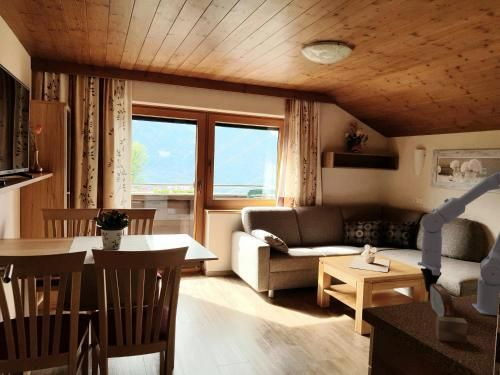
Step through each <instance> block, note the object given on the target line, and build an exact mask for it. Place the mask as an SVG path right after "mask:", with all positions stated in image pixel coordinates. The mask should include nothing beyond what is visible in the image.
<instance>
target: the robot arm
mask: <svg viewBox="0 0 500 375" xmlns="http://www.w3.org/2000/svg"><path fill="white" fill-rule="evenodd" d="M494 190H500V170H499V171H497V172H494V173H493V174H491V175H489V176H487V177H485V178H484V179H482V180H481V181H480V182H478V183H477V184H475V185H474V186H473V187H472V188H470V189H469V190H467V191H466V192H465V193H463V194H462V195H461V196H460V197H450V198H445V199H444V200H443V201H444V203H441V204H440V205H439V206H438V207H436V208H433V209H431V210H430V211H431V212H432V213H428V214H426V216H424V218H423V219H422V227H423V231H422V233H423V235H422V244H421V261H418V262H417V265H418V266H421V268H420V271H421V274H422V276H423V280H424V287H425V290H426V293H428V292H429V293H430V286H431V284H438V281H439V279H440V277H441V276H442V272H441V269H442V267H443V266H442V250H443V249H442V246H443V237H442V233H443V231H442V230H443V227H444V224H445V225H448V224H450V223H451V222H452V221H454V220H455V219H457V218H458V217H460V216H461V215H463V214H465V212H466V206H468V205H469V204H471V203H473V201H475V200H477V199H478V198H479V197H481V196H483V195H485V194H486V193H488V192H489V191H494ZM498 232H499V233H498V234H497V237H496V238H495V241H494V244H493V246H492V247H491V249H490V250H489V252H488V255H487V257H485V258H484V259H482V260H481V262H480V264H479V269H480V271H479V272H480V276H479V277H478V278H477V296H476V297H477V298H476V303H471V306H472V307H473V308H474V309H475V310H476V311H477V312H478V313H480V314H481V315H487V316H488V315H490V316H498V315H497V312H498V304H499V293H500V231H498ZM423 267H424V268H423Z"/></svg>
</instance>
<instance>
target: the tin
mask: <svg viewBox="0 0 500 375" xmlns="http://www.w3.org/2000/svg"><path fill="white" fill-rule="evenodd" d="M429 294H430V296H429V297H430V298H429V301H430V306H431V309H432V311H433V312H434V314H435V315H436V316H442V317H453V318H455V317H454V316H455V307H454V302H453V297H452V295H451V293H450V292H449V290H448V289H447V288H446V287H445V286H444V285H442V283H436V284H431V286H430V292H429Z"/></svg>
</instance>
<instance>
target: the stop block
mask: <svg viewBox="0 0 500 375" xmlns="http://www.w3.org/2000/svg"><path fill="white" fill-rule="evenodd" d="M435 337H436V339H437V341H444V342H453V343H460V344H461V343H463V344H467V342H468V322H467V321H466V319H465V318H462V317H442V316H437V315H436V316H435Z"/></svg>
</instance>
